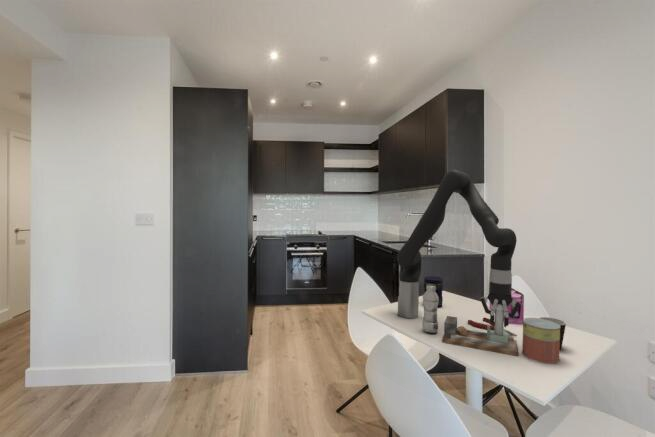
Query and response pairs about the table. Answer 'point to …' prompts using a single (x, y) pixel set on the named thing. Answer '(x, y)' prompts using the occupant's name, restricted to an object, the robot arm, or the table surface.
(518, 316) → the gum box
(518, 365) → the table surface
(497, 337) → the grey post on base
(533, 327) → the canned food
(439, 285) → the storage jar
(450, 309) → the table surface
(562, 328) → the coffee mug
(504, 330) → the pliers
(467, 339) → the base
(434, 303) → the plastic bottle
